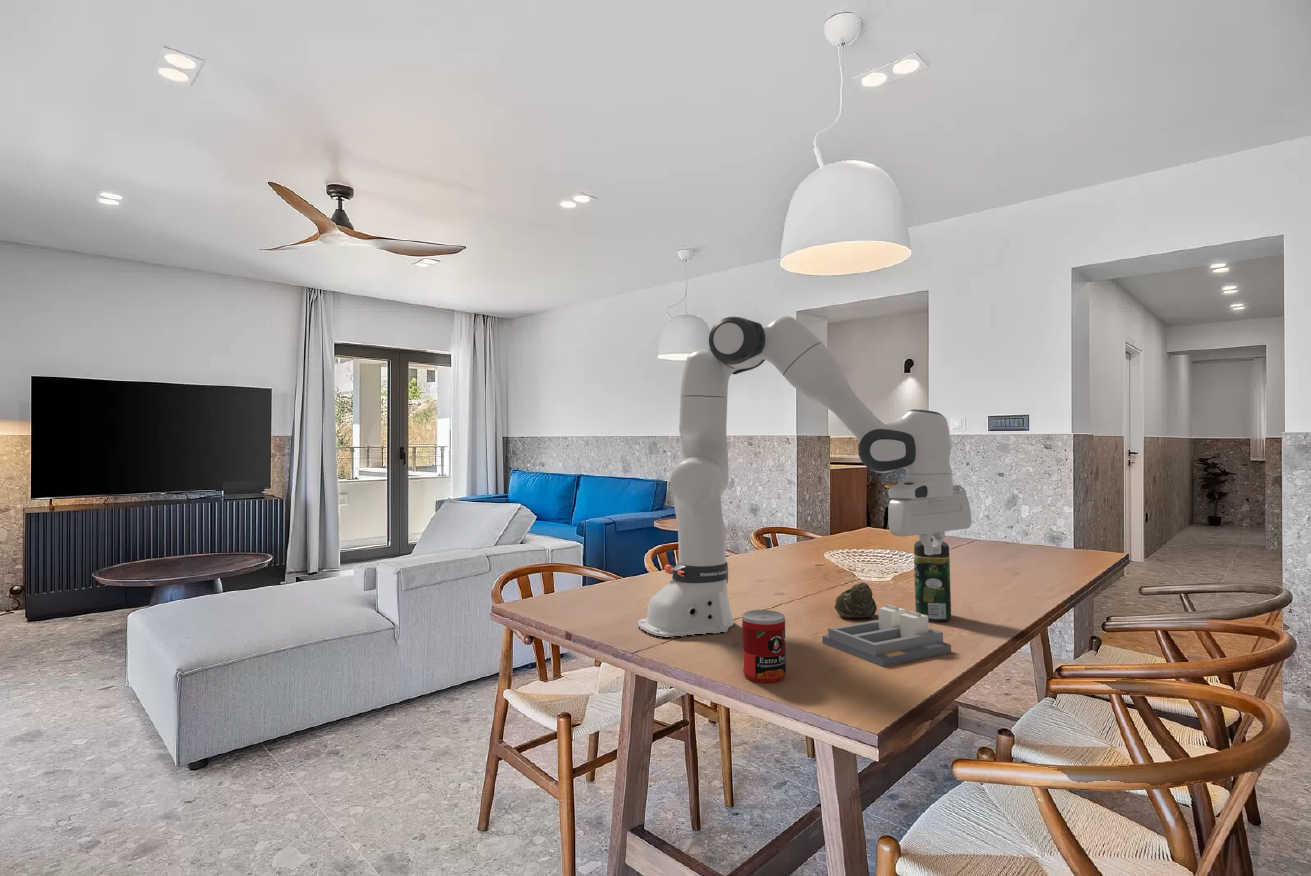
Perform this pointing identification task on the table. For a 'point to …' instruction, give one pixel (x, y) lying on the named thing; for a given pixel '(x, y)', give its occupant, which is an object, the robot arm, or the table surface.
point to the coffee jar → (932, 583)
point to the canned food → (764, 646)
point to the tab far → (890, 616)
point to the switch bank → (885, 643)
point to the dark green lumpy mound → (856, 602)
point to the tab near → (913, 624)
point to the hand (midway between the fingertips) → (932, 554)
